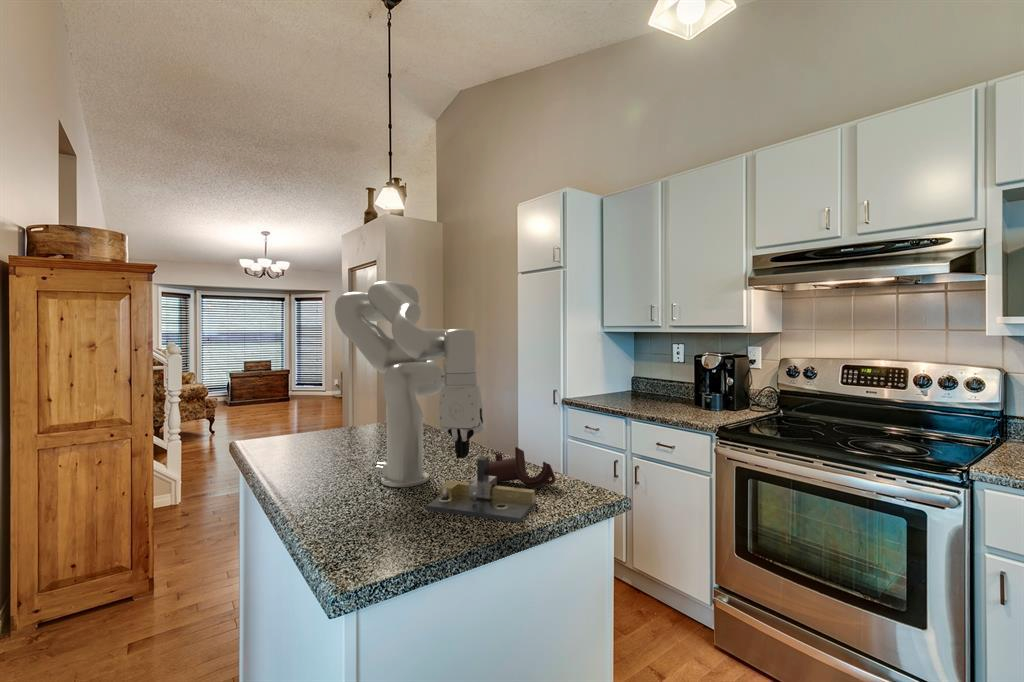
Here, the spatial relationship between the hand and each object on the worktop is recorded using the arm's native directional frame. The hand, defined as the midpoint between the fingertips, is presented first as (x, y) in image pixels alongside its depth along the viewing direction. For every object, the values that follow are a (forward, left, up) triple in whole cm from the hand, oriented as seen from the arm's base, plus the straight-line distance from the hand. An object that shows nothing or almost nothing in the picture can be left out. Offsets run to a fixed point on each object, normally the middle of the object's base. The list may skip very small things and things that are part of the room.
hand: (462, 456), depth 113 cm
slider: (+5, -1, -9) cm, 10 cm away
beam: (+7, -2, -9) cm, 11 cm away
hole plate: (+7, -4, -10) cm, 13 cm away
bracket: (+10, +15, -10) cm, 21 cm away
